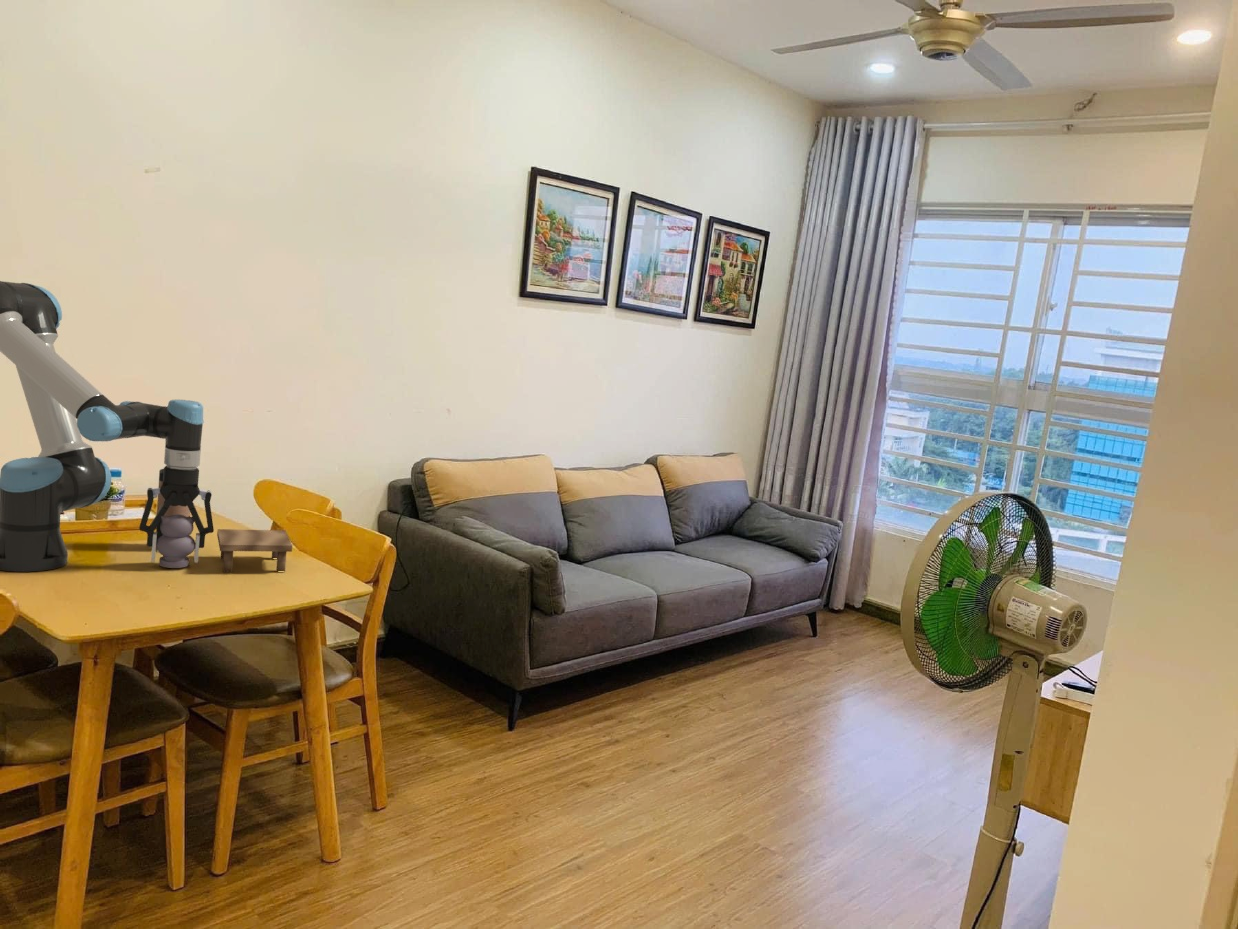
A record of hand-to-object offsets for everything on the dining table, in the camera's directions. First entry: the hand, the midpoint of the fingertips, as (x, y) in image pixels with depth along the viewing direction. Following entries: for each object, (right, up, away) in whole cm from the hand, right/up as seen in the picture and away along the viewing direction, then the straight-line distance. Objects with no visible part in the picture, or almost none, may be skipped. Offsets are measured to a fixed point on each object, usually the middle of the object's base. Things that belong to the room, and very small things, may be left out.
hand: (174, 560), depth 215 cm
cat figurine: (0, -1, 0) cm, 1 cm away
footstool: (+15, -2, +10) cm, 18 cm away
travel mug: (-8, +1, +16) cm, 18 cm away
